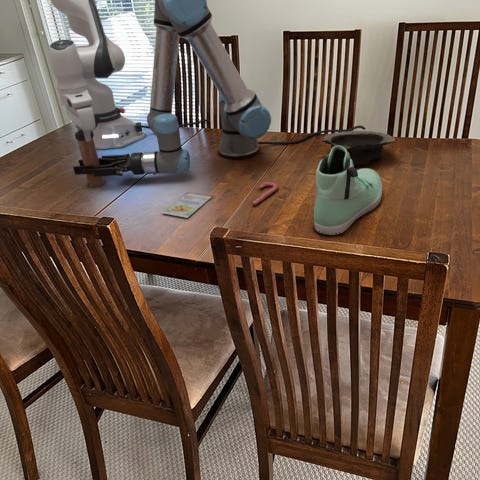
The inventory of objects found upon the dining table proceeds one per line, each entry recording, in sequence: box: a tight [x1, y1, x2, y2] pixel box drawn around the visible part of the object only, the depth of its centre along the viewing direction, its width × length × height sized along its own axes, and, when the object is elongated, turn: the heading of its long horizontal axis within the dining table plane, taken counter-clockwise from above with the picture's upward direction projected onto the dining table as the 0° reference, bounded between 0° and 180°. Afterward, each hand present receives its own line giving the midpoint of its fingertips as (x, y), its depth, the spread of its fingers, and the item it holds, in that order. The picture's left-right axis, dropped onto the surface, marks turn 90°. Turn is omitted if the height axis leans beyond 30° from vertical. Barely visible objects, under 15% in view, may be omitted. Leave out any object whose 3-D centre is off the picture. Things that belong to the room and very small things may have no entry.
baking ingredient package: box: [162, 192, 212, 218], centre depth 147 cm, size 9×1×15 cm
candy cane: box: [252, 181, 279, 206], centre depth 150 cm, size 6×15×2 cm, turn 145°
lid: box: [74, 130, 94, 140], centre depth 158 cm, size 6×6×2 cm
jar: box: [76, 137, 105, 188], centre depth 163 cm, size 5×5×18 cm
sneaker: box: [313, 146, 383, 236], centre depth 133 cm, size 14×35×20 cm, turn 152°
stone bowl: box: [321, 130, 396, 167], centre depth 169 cm, size 25×25×9 cm
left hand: (85, 138), depth 159 cm, fingers closed on lid, 6 cm apart
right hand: (77, 167), depth 164 cm, fingers closed on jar, 5 cm apart
